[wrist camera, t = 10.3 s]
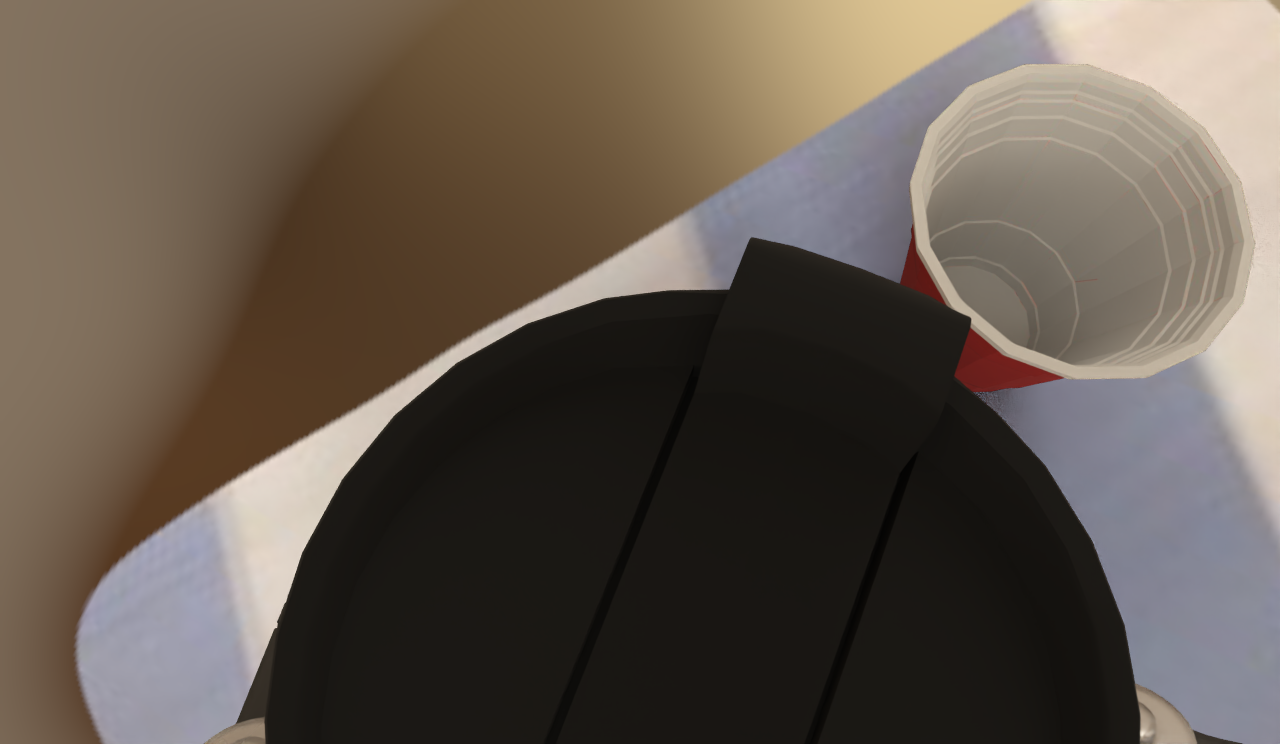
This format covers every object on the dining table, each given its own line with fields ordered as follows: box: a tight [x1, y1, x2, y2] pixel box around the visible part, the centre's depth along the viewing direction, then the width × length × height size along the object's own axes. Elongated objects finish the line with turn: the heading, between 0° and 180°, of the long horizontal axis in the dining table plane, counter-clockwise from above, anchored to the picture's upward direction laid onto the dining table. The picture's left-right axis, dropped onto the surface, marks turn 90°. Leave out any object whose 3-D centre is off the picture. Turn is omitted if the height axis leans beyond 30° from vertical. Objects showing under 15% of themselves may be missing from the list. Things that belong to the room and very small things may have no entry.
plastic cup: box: [900, 64, 1255, 392], centre depth 36 cm, size 11×11×12 cm
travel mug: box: [264, 237, 1141, 744], centre depth 16 cm, size 6×7×20 cm
